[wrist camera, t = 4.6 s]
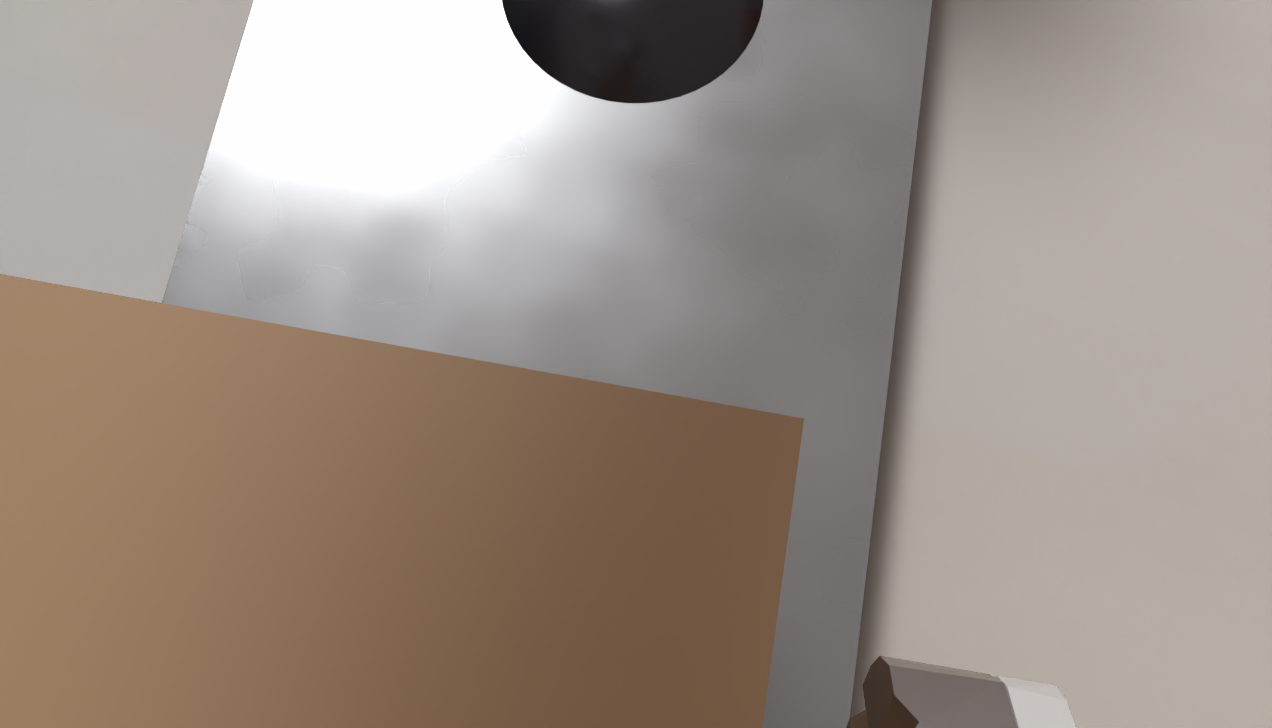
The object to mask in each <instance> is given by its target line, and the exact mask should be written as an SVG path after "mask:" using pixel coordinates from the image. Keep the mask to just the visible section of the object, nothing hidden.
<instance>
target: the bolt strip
mask: <svg viewBox="0 0 1272 728" xmlns="http://www.w3.org/2000/svg"><path fill="white" fill-rule="evenodd" d="M931 8H932V0H254V3H253V6H252V10H251V13H250V16H249V19H248V23H247V26H246V29H245V32H244V36H243V39H242V42H241V46H240V49H239V52H238V55H237V59H236V62H235V65H234V68H233V72H232V75H231V78H230V81H229V85H228V88H227V91H226V95H225V98H224V101H223V104H222V108H221V111H220V114H219V117H218V121H217V124H216V127H215V131H214V134H213V137H212V140H211V144H210V147H209V150H208V153H207V157H206V160H205V163H204V167H203V170H202V173H201V176H200V180H199V183H198V186H197V189H196V193H195V196H194V199H193V203H192V206H191V209H190V212H189V216H188V219H187V222H186V225H185V229H184V232H183V235H182V238H181V242H180V245H179V248H178V252H177V255H176V258H175V261H174V265H173V268H172V271H171V274H170V278H169V281H168V284H167V288H166V291H165V294H164V297H163V301H162V303H163V304H169V305H174V306H180V307H185V308H191V309H197V310H202V311H208V312H213V313H219V314H225V315H230V316H236V317H241V318H247V319H252V320H258V321H263V322H269V323H275V324H280V325H286V326H291V327H297V328H302V329H308V330H314V331H319V332H325V333H330V334H336V335H341V336H347V337H353V338H358V339H364V340H369V341H375V342H380V343H386V344H392V345H397V346H403V347H408V348H414V349H419V350H425V351H431V352H436V353H442V354H447V355H453V356H458V357H464V358H470V359H475V360H481V361H486V362H492V363H497V364H503V365H509V366H514V367H520V368H525V369H531V370H536V371H542V372H548V373H553V374H559V375H564V376H570V377H575V378H581V379H587V380H592V381H598V382H603V383H609V384H614V385H620V386H626V387H631V388H637V389H642V390H648V391H653V392H659V393H665V394H670V395H676V396H681V397H687V398H692V399H698V400H704V401H709V402H715V403H720V404H726V405H731V406H737V407H743V408H748V409H754V410H759V411H765V412H770V413H776V414H782V415H787V416H793V417H798V418H804V423H803V431H802V438H801V445H800V453H799V460H798V468H797V475H796V482H795V490H794V497H793V505H792V512H791V519H790V527H789V534H788V542H787V549H786V556H785V564H784V571H783V578H782V586H781V593H780V601H779V608H778V615H777V623H776V630H775V638H774V645H773V652H772V660H771V667H770V675H769V682H768V689H767V697H766V704H765V712H764V719H763V726H762V728H846V727H847V724H848V721H849V719H850V712H851V703H852V695H853V686H854V677H855V669H856V660H857V651H858V643H859V634H860V625H861V617H862V608H863V599H864V590H865V582H866V573H867V564H868V556H869V547H870V538H871V530H872V521H873V512H874V504H875V495H876V486H877V478H878V469H879V460H880V451H881V443H882V434H883V425H884V417H885V408H886V399H887V391H888V382H889V373H890V365H891V356H892V347H893V339H894V330H895V321H896V312H897V304H898V295H899V286H900V278H901V269H902V260H903V252H904V243H905V234H906V226H907V217H908V208H909V200H910V191H911V182H912V173H913V165H914V156H915V147H916V139H917V130H918V121H919V113H920V104H921V95H922V87H923V78H924V69H925V61H926V52H927V43H928V34H929V26H930V17H931Z"/></svg>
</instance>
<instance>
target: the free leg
mask: <svg viewBox="0 0 1272 728" xmlns="http://www.w3.org/2000/svg"><path fill="white" fill-rule="evenodd" d="M803 423H804V418H798V417H793V416H787V415H782V414H776V413H770V412H765V411H759V410H754V409H748V408H743V407H737V406H731V405H726V404H720V403H715V402H709V401H704V400H698V399H692V398H687V397H681V396H676V395H670V394H665V393H659V392H653V391H648V390H642V389H637V388H631V387H626V386H620V385H614V384H609V383H603V382H598V381H592V380H587V379H581V378H575V377H570V376H564V375H559V374H553V373H548V372H542V371H536V370H531V369H525V368H520V367H514V366H509V365H503V364H497V363H492V362H486V361H481V360H475V359H470V358H464V357H458V356H453V355H447V354H442V353H436V352H431V351H425V350H419V349H414V348H408V347H403V346H397V345H392V344H386V343H380V342H375V341H369V340H364V339H358V338H353V337H347V336H341V335H336V334H330V333H325V332H319V331H314V330H308V329H302V328H297V327H291V326H286V325H280V324H275V323H269V322H263V321H258V320H252V319H247V318H241V317H236V316H230V315H225V314H219V313H213V312H208V311H202V310H197V309H191V308H185V307H180V306H174V305H169V304H163V303H158V302H152V301H146V300H141V299H135V298H130V297H124V296H119V295H113V294H108V293H102V292H96V291H91V290H85V289H80V288H74V287H69V286H63V285H57V284H52V283H46V282H41V281H35V280H30V279H24V278H18V277H13V276H7V275H2V274H0V728H762V726H763V719H764V712H765V704H766V697H767V689H768V682H769V675H770V667H771V660H772V652H773V645H774V638H775V630H776V623H777V615H778V608H779V601H780V593H781V586H782V578H783V571H784V564H785V556H786V549H787V542H788V534H789V527H790V519H791V512H792V505H793V497H794V490H795V482H796V475H797V468H798V460H799V453H800V445H801V438H802V431H803Z"/></svg>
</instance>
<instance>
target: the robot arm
mask: <svg viewBox="0 0 1272 728" xmlns="http://www.w3.org/2000/svg"><path fill="white" fill-rule="evenodd" d="M863 690H864V698H865V706H866V710H865V711H863V712H861V713H859V714H858V715H856V716H854V717H853V718H851V719H849V721H848V724H847V727H846V728H1076V725H1075V722H1074V720H1073V717H1072V714H1071V711H1070V709H1069V706H1068V703H1067V700H1066V698H1065V696H1064V695H1063V693H1062V692H1061V691H1060V690H1059V689H1058V688H1057V687H1056V686H1055V685H1050V684H1044V683H1038V682H1032V681H1026V680H1020V679H1014V678H1008V677H1003V676H994V677H993V676H991V675H990V674H985V673H979V672H973V671H967V670H961V669H955V668H950V667H944V666H938V665H932V664H926V663H920V662H914V661H908V660H902V659H896V658H891V657H885V656H879V657H878V658H877V660H876V661H875V662H874V663H873V664H872V665H871V667H870V670H869V672H868V674H867V677H866V679H865V681H864V684H863Z"/></svg>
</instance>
